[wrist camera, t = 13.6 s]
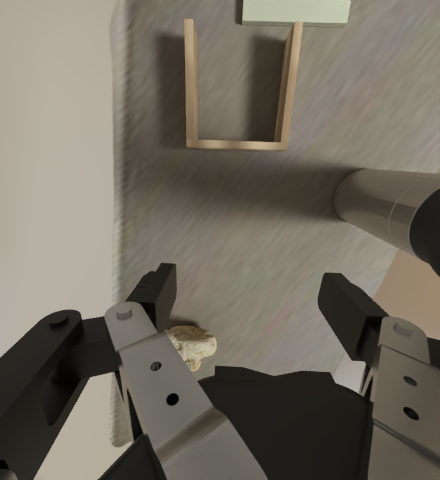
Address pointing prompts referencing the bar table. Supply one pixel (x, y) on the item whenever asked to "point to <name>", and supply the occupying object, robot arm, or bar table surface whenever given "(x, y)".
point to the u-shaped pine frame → (283, 105)
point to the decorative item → (192, 344)
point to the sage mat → (296, 12)
